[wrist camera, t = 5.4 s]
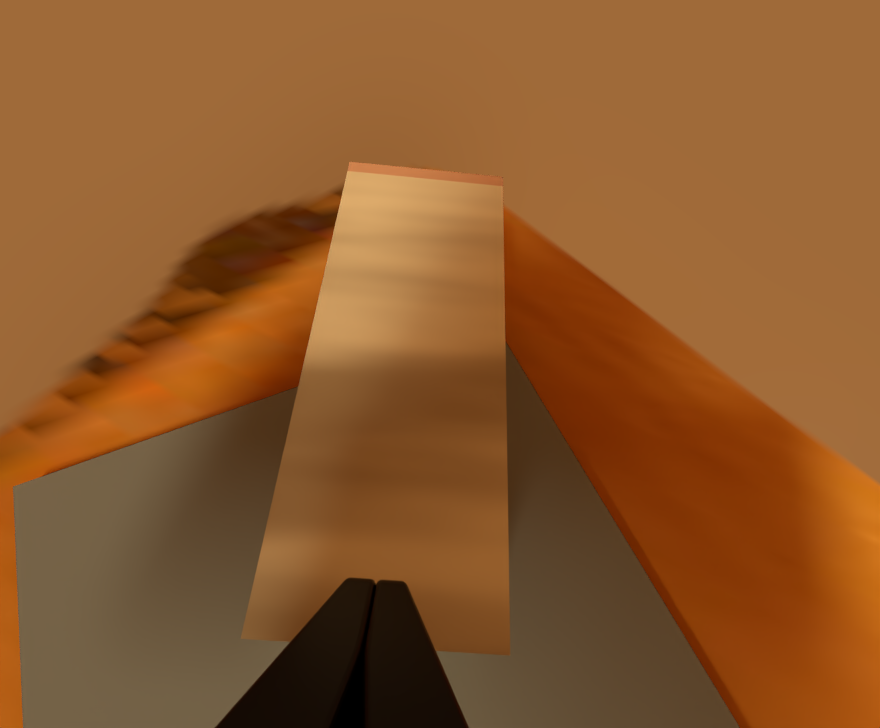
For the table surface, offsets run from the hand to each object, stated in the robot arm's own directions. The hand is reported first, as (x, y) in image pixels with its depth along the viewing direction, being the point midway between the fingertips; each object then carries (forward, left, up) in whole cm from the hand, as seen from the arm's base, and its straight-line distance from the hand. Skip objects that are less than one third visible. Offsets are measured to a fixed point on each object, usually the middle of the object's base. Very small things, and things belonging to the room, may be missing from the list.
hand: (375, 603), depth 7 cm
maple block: (0, -1, -4) cm, 4 cm away
